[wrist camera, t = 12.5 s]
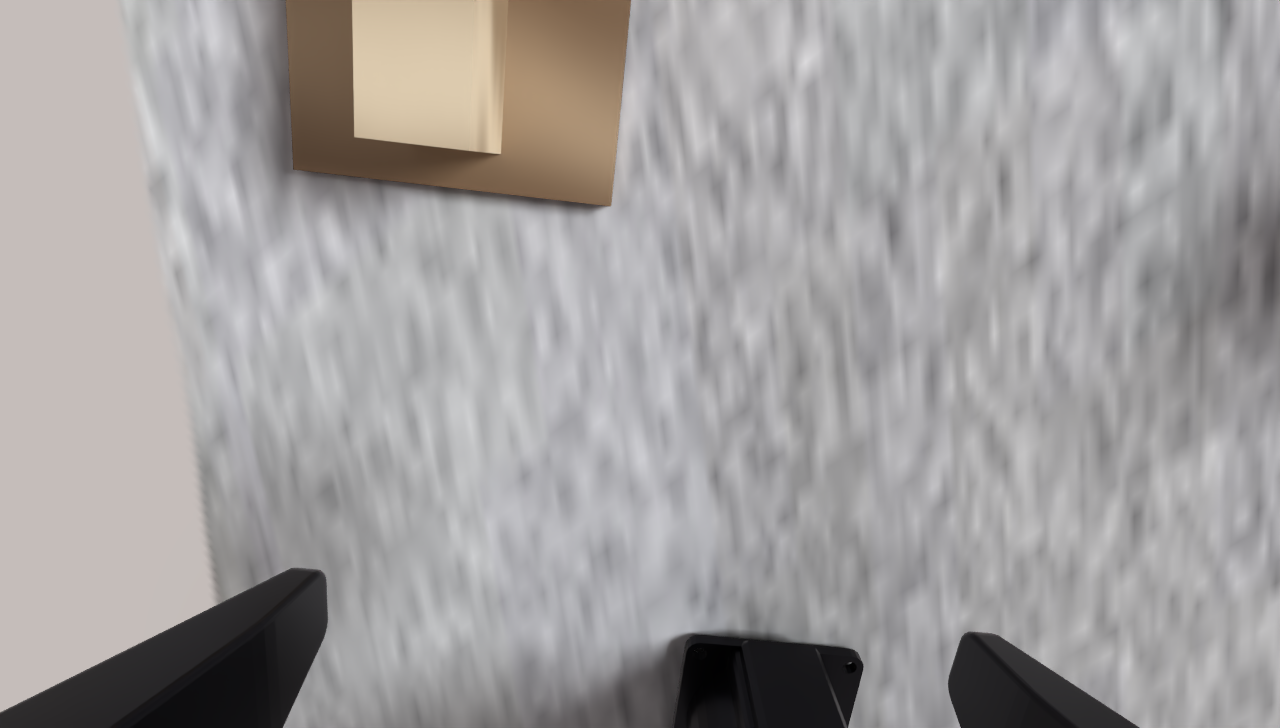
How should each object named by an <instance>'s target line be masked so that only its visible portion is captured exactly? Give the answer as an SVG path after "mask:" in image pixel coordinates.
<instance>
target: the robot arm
mask: <svg viewBox="0 0 1280 728" xmlns="http://www.w3.org/2000/svg"><path fill="white" fill-rule="evenodd" d="M327 623H328V612H327V584H326V577H325V574H324V573H323V572H322V571H321V570H315V569H305V568H291V569H289V570H287V571H285V572H283V573H281V574H279V575H277V576H275V577H273V578H271V579H269V580H267V581H264V582H262V583H260V584H258V585H256V586H254V587H252V588H250V589H248V590H246V591H244V592H242V593H240V594H238V595H236V596H234V597H232V598H230V599H228V600H226V601H224V602H222V603H220V604H218V605H216V606H214V607H212V608H210V609H208V610H206V611H204V612H202V613H200V614H198V615H196V616H194V617H192V618H190V619H188V620H186V621H184V622H182V623H180V624H178V625H176V626H174V627H172V628H170V629H168V630H166V631H164V632H162V633H160V634H158V635H156V636H154V637H152V638H150V639H148V640H146V641H144V642H142V643H140V644H138V645H136V646H134V647H132V648H130V649H127V650H126V651H123V652H121V653H119V654H118V655H115V656H113V657H111V658H109V659H107V660H105V661H103V662H102V663H99V664H98V665H95V666H93V667H91V668H89V669H87V670H85V671H83V672H81V673H79V674H77V675H75V676H73V677H71V678H69V679H67V680H65V681H63V682H61V683H59V684H57V685H55V686H53V687H51V688H49V689H47V690H45V691H43V692H41V693H39V694H37V695H35V696H33V697H31V698H29V699H27V700H25V701H23V702H21V703H19V704H17V705H15V706H13V707H10V708H8V709H6V710H4V711H3V712H0V728H283V726H284V724H285V722H286V719H287V717H288V715H289V713H290V711H291V709H292V706H293V704H294V702H295V700H296V698H297V695H298V693H299V691H300V689H301V687H302V685H303V682H304V680H305V678H306V676H307V674H308V672H309V669H310V667H311V665H312V663H313V661H314V659H315V656H316V654H317V652H318V650H319V648H320V646H321V643H322V641H323V639H324V636H325V633H326V629H327ZM700 648H701V649H704V650H703V651H702V652H696V651H694V650H696V649H700ZM848 662H852V663H851V664H849V665H844V664H846V663H848ZM862 672H863V663H862V661H861V658H860V656H859V654H858V653H857V652H856V651H855V650H852V649H847V648H836V647H825V646H815V645H804V644H793V643H782V642H771V641H760V640H750V639H739V638H728V637H717V636H706V635H695V636H693V637H690V638H689V639H688V640H687V642H686V645H685V650H684V656H683V662H682V668H681V675H680V681H679V687H678V693H677V699H676V706H675V712H674V718H673V724H672V728H848V725H849V721H850V717H851V714H852V710H853V706H854V702H855V698H856V695H857V691H858V687H859V683H860V680H861V676H862ZM948 688H949V694H950V698H951V701H952V704H953V707H954V709H955V712H956V715H957V718H958V721H959V724H960V727H961V728H1139V727H1138V726H1136V725H1135V724H1133V723H1132V722H1130V721H1129V720H1127V719H1125V718H1124V717H1122V716H1121V715H1119V714H1118V713H1116V712H1115V711H1113V710H1112V709H1110V708H1109V707H1107V706H1106V705H1104V704H1103V703H1101V702H1099V701H1098V700H1096V699H1095V698H1093V697H1092V696H1090V695H1089V694H1087V693H1086V692H1084V691H1083V690H1081V689H1080V688H1078V687H1076V686H1075V685H1073V684H1072V683H1070V682H1069V681H1067V680H1066V679H1064V678H1063V677H1061V676H1060V675H1058V674H1057V673H1055V672H1053V671H1052V670H1050V669H1049V668H1047V667H1046V666H1044V665H1043V664H1041V663H1040V662H1038V661H1037V660H1035V659H1034V658H1032V657H1030V656H1029V655H1027V654H1026V653H1024V652H1023V651H1021V650H1020V649H1018V648H1017V647H1015V646H1014V645H1012V644H1011V643H1009V642H1007V641H1006V640H1004V639H1003V638H1001V637H1000V636H998V635H995V634H992V633H981V632H967V633H965V634H964V635H963V636H962V638H961V640H960V643H959V646H958V649H957V652H956V656H955V659H954V662H953V665H952V668H951V671H950V675H949V680H948Z"/></svg>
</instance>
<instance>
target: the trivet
mask: <svg viewBox="0 0 1280 728" xmlns="http://www.w3.org/2000/svg"><path fill="white" fill-rule="evenodd" d="M630 6H631V0H508V16H507V37H506V58H505V79H504V100H503V120H502V141H501V154H494V153H485V152H475V151H466V150H458V149H450V148H441V147H433V146H425V145H416V144H408V143H400V142H391V141H383V140H374V139H366V138H358V137H354V89H353V27H352V0H286V16H287V38H288V60H289V83H290V105H291V127H292V150H293V170H302V171H311V172H319V173H328V174H336V175H345V176H354V177H362V178H371V179H380V180H388V181H397V182H406V183H414V184H423V185H431V186H440V187H449V188H457V189H466V190H475V191H483V192H492V193H500V194H509V195H518V196H526V197H535V198H544V199H552V200H561V201H569V202H578V203H587V204H595V205H604V206H611V202H612V192H613V181H614V171H615V161H616V150H617V140H618V130H619V119H620V109H621V99H622V88H623V78H624V68H625V57H626V47H627V37H628V26H629V16H630Z"/></svg>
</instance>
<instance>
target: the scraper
mask: <svg viewBox="0 0 1280 728" xmlns="http://www.w3.org/2000/svg"><path fill="white" fill-rule="evenodd" d="M507 16H508V0H352V27H353V89H354V137H358V138H366V139H374V140H383V141H391V142H400V143H408V144H416V145H425V146H433V147H441V148H450V149H458V150H466V151H475V152H485V153H494V154H501V141H502V120H503V100H504V79H505V58H506V37H507Z"/></svg>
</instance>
